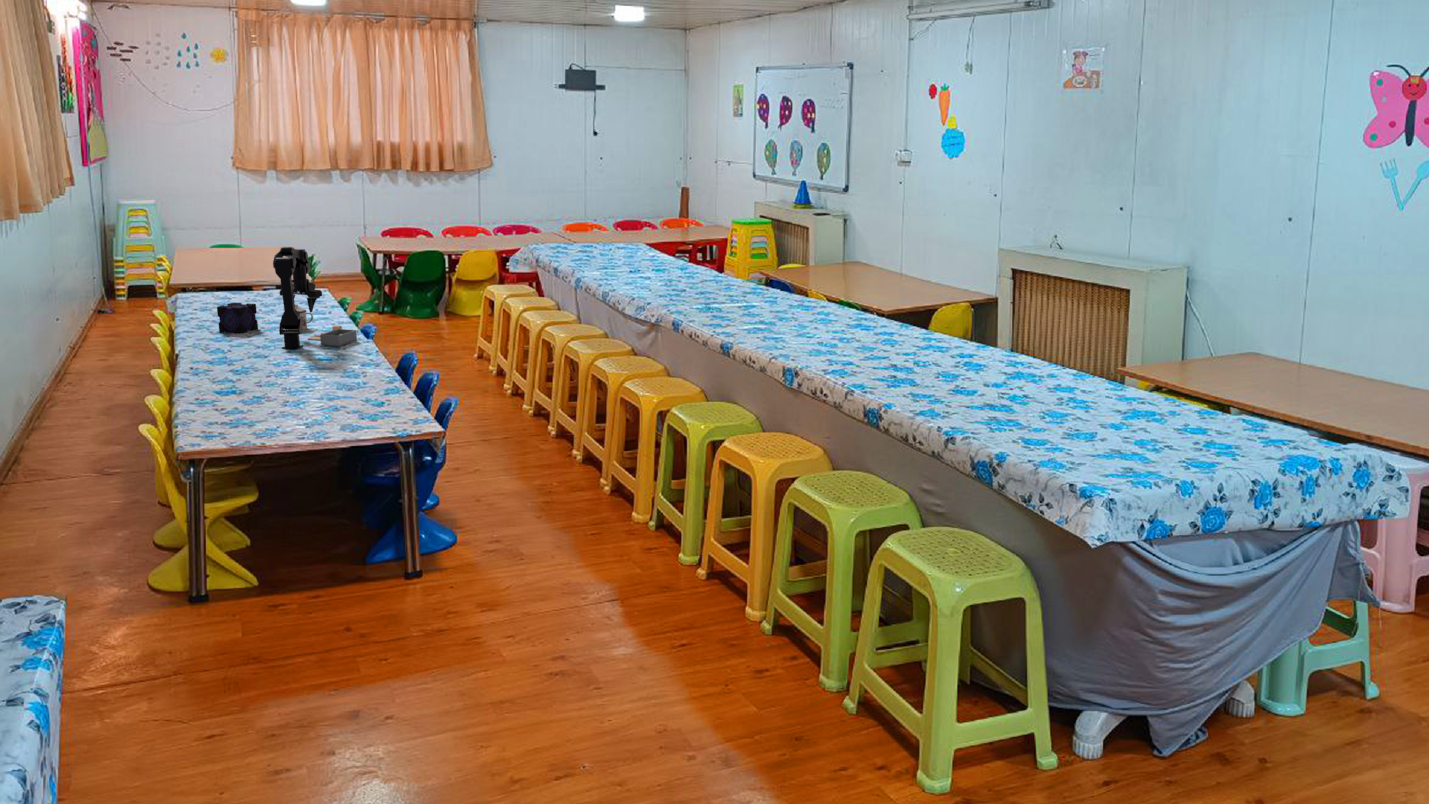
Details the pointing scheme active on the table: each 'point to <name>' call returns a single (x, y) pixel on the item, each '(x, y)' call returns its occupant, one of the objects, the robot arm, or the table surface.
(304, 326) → the teacup with lid
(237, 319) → the energy cube
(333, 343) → the tub
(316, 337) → the lid
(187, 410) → the table surface
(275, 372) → the table surface
